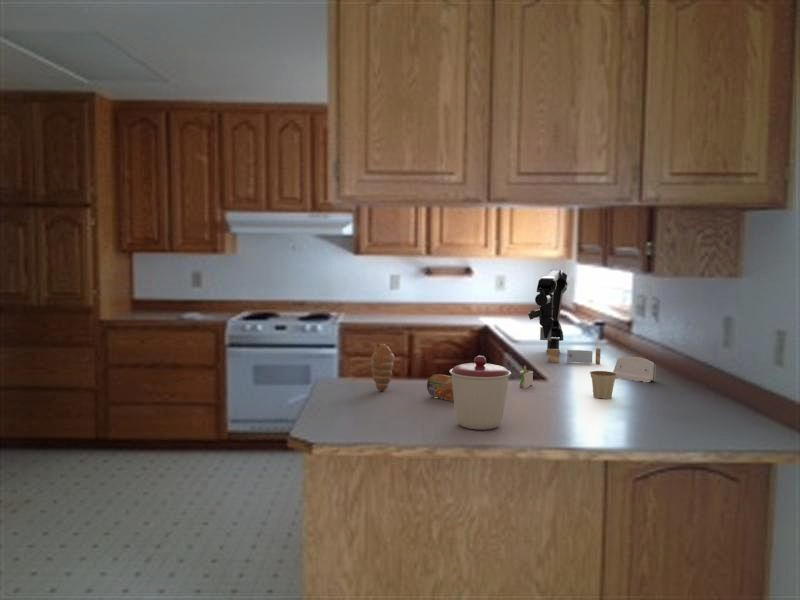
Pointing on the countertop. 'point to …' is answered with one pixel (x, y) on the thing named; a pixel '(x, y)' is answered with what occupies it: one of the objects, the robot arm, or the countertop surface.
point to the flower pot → (603, 383)
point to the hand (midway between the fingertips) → (545, 337)
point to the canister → (479, 393)
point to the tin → (440, 386)
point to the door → (579, 356)
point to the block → (543, 335)
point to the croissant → (382, 365)
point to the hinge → (635, 369)
